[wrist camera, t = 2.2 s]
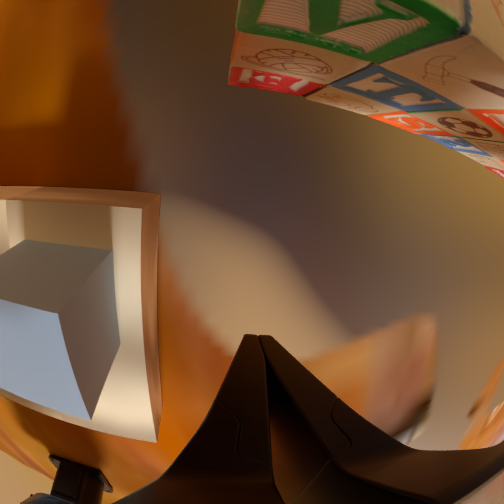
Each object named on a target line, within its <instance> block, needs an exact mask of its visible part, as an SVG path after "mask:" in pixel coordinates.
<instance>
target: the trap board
mask: <svg viewBox="0 0 504 504" xmlns="http://www.w3.org/2000/svg"><path fill="white" fill-rule="evenodd" d="M160 202H161V193H150V192H137V191H124V190H109V189H91V188H70V187H40V186H0V255H1V254H3V253H4V252H6V251H7V250H9V249H11V248H12V247H14V246H15V245H17V244H18V243H20V242H22V241H23V240H25V239H26V240H33V241H41V242H49V243H57V244H65V245H73V246H81V247H89V248H98V249H106V250H113V263H114V283H115V297H116V309H117V319H118V328H119V336H120V343H121V344H120V347H119V349H118V352H117V354H116V356H115V359H114V361H113V364H112V366H111V369H110V371H109V374H108V376H107V379H106V382H105V384H104V387H103V389H102V392H101V395H100V397H99V400H98V403H97V406H96V409H95V411H94V414H93V417H92V420H91V421H90V420H86V419H82V418H79V417H76V416H72V415H69V414H66V413H63V412H60V411H57V410H54V409H51V408H48V407H45V406H42V405H40V404H37V403H35V402H32V401H29V400H27V399H24V398H22V397H20V396H17V395H15V394H13V393H11V392H8V391H6V390H4V389H2V388H0V395H1V396H3V397H5V398H7V399H9V400H11V401H14V402H16V403H18V404H20V405H23V406H25V407H28V408H30V409H32V410H35V411H38V412H40V413H43V414H45V415H48V416H51V417H54V418H57V419H60V420H63V421H66V422H69V423H72V424H75V425H79V426H82V427H85V428H89V429H93V430H96V431H100V432H104V433H109V434H113V435H117V436H122V437H127V438H132V439H137V440H143V441H149V442H155V443H157V439H158V432H159V425H160V418H161V412H162V395H161V383H160V370H159V353H158V328H157V259H158V234H159V216H160Z"/></svg>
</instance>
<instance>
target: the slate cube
mask: <svg viewBox="0 0 504 504" xmlns="http://www.w3.org/2000/svg"><path fill="white" fill-rule="evenodd" d="M120 344H121V343H120V336H119V328H118V319H117V309H116V297H115V283H114V263H113V250H106V249H98V248H89V247H81V246H73V245H65V244H57V243H49V242H41V241H33V240H26V239H25V240H23V241H22V242H20V243H18V244H17V245H15V246H14V247H12V248H11V249H9V250H7V251H6V252H4V253H3V254H1V255H0V388H2V389H4V390H6V391H8V392H11V393H13V394H15V395H17V396H20V397H22V398H24V399H27V400H29V401H32V402H35V403H37V404H40V405H42V406H45V407H48V408H51V409H54V410H57V411H60V412H63V413H66V414H69V415H72V416H76V417H79V418H82V419H86V420H90V421H91V420H92V417H93V414H94V411H95V409H96V406H97V403H98V400H99V397H100V395H101V392H102V389H103V387H104V384H105V382H106V379H107V376H108V374H109V371H110V369H111V366H112V364H113V361H114V359H115V356H116V354H117V352H118V349H119V347H120Z"/></svg>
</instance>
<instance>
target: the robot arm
mask: <svg viewBox="0 0 504 504" xmlns="http://www.w3.org/2000/svg"><path fill="white" fill-rule="evenodd" d="M49 459H50V461H51V462H52V463H53V464H54V466H55V467H56V468H57V472H56V476H55V479H54V482H53V486H52V489H51V493H50V495H49V494H44V493H36V494H34V495H32V494H31V495H30V497H29V498H27V499H26V500H25V501H23V502H21V503H20V504H101V502H102V496H103V491H105V492H109V493H113V489H112V488H111V486H110V485H109V483H108V482H107V480H106V479H105V477H104V476H103V474H102V473H101V472H100V471H98V470H94V469H91V468H88V467H84V466H81V465H78V464H75V463H72V462H69V461H66V460H63V459H61V458H58V457H55V456H53V455H49ZM112 504H504V441H502V442H501V443H499V444H497V445H495V446H492V447H488V448H482V449H471V450H449V451H448V450H447V451H428V450H427V451H426V450H417V449H414V448H411V447H408V446H406V445H404V444H402V443H401V442H399V441H397V440H396V439H394V438H393V437H391V436H390V435H388V434H387V433H385V432H384V431H382V430H381V429H379V428H378V427H376V426H375V425H373V424H372V423H370V422H369V421H367V420H366V419H365V418H363V417H362V416H360V415H359V414H358V413H357V412H355V411H354V410H353V409H352V408H350V407H349V406H348V405H347V404H346V403H344V402H343V401H342V400H341V399H340V398H337V396H336V395H335V394H334V393H333V392H332V391H331V390H330V389H328V388H327V387H326V386H325V385H324V384H323V383H322V382H321V381H319V380H318V379H317V378H316V377H315V376H314V375H313V374H312V373H311V372H310V371H308V370H307V369H306V368H305V367H304V366H303V365H302V364H301V363H300V362H299V361H298V360H296V359H295V358H294V357H293V356H292V355H291V354H290V353H289V352H288V351H287V350H286V349H285V348H284V347H283V346H282V345H280V344H279V343H278V342H277V341H276V340H275V339H274V338H273V337H272V336H270V335H259V336H257V335H253V334H245V335H244V337H243V339H242V341H241V343H240V345H239V348H238V350H237V352H236V354H235V356H234V359H233V361H232V363H231V365H230V367H229V370H228V372H227V374H226V376H225V378H224V381H223V383H222V385H221V387H220V389H219V391H218V393H217V396H216V398H215V400H214V402H213V404H212V406H211V408H210V410H209V412H208V414H207V415H206V417H205V419H204V421H203V422H202V424H201V425H200V427H199V428H198V430H197V431H196V433H195V434H194V436H193V437H192V438H191V440H190V441H189V442H188V444H187V445H186V446H185V448H184V449H183V450H182V451H181V453H180V454H179V455H178V457H177V458H176V459H175V461H174V462H173V463H172V464H171V465H170V467H169V468H168V469H167V470H166V471H165V472H164V473H163V474H162V475H161V476H160V477H158V478H157V479H156V480H154V481H152V482H151V483H149V484H147V485H145V486H144V487H142V488H140V489H138V490H137V491H135V492H133V493H131V494H129V495H127V496H126V497H124V498H122V499H120V500H118V501H116V502H114V503H112Z"/></svg>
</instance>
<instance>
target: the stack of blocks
mask: <svg viewBox="0 0 504 504" xmlns="http://www.w3.org/2000/svg"><path fill="white" fill-rule="evenodd" d="M235 28H236V33H235V38H234V42H233V48H232V52H231V58H230V69H229V75H228V83H229V85H234V86H242V87H250V88H258V89H265V90H270V91H277V92H282V93H288V94H293V95H297V96H299V95H301V96H303V97H304V98H305V99H307V100H311V101H315V102H319V103H323V104H327V105H331V106H335V107H338V108H342V109H345V110H349V111H352V112H356V113H359V114H363V115H367V116H369V117H371V118H374V119H377V120H379V121H383V122H385V123H388V124H391V125H393V126H396V127H399V128H401V129H404V130H407V131H409V132H411V133H414V134H421V135H423V136H425V137H427V138H430V139H432V140H434V141H436V142H439V143H441V144H443V145H445V146H447V147H449V148H451V149H453V150H457V151H458V152H460V153H462V154H464V155H466V156H468V157H470V158H472V159H473V160H475V161H477V162H479V163H481V164H483V165H484V166H485V167H486V168H487V169H489V170H491V171H492V172H494V173H496V174H497V175H499V176H501V177H502V178H504V0H239V1H238V8H237V16H236V24H235Z"/></svg>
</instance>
